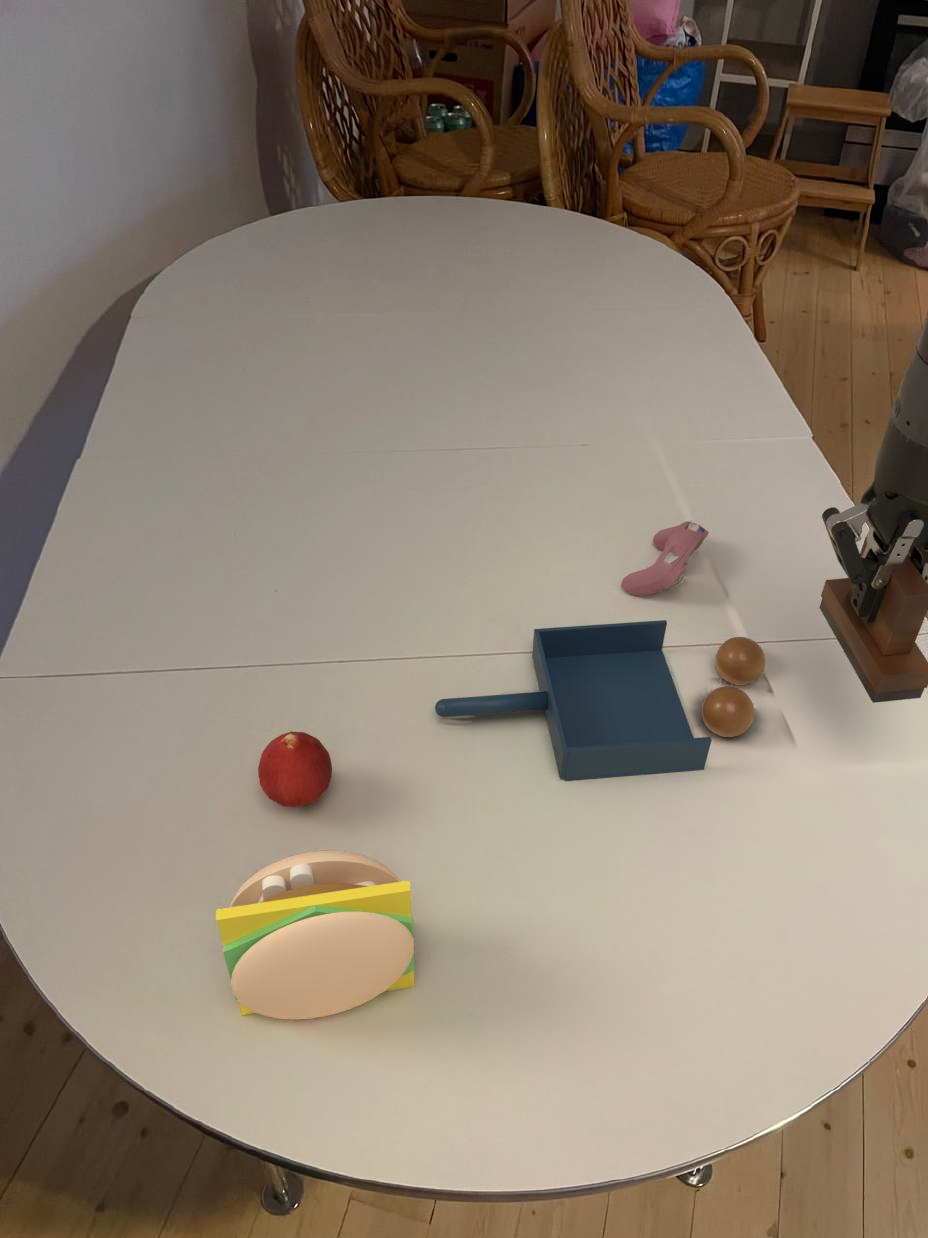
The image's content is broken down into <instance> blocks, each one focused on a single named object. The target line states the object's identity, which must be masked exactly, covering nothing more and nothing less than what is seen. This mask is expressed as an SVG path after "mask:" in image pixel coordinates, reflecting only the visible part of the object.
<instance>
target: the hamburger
mask: <svg viewBox="0 0 928 1238" xmlns="http://www.w3.org/2000/svg"><path fill="white" fill-rule="evenodd" d="M215 922H216V925H217V928H218V929H217V930H218V932H219V936H220V940H221V943H222V953H223V957H224V960H225V964H226V967H227V971H228V975H229V978H230V984H231V989H232V993H233V995H234V996H235V1000H236V1001H237V1003H238V1005H239V1009H240V1013H241V1016H247V1015H253V1014H258V1015H261V1016H265V1017H267V1018H273V1019H277V1020H278V1019H279V1020H296V1021H297V1020H310V1019H316V1018H323V1017H327V1016H333V1015H336V1014H339V1013H342V1012H345V1011H348V1010H351V1009H354V1008H357V1007H359V1006H361V1005H363V1004H365V1003H367V1002H369V1001H371V1000H372V999H375V998H376V997H377V996H379V995H381V994H382V993H385V992H390V991H395V990H397V991H398V990H402V989H407V988H415V985H416V984H415V969H416V967H415V940H414V922H413V913H412V889H411V884H410V880H409V879H408V880H402V881H400V879H399V877H398V876H397V875H396V874H395V873H394V872H393V871H392V870H391V868H389V867H388V866H386V865H385V864H383V863H381V862H380V861H379V860H376V859H374V858H372V857H369V856H366V855H364V854H359V853H355V852H351V851H343V850H317V851H316V850H315V851H308V852H303V853H298V854H295V855H291V856H288V857H285V858H281V859H279V860H277V861H274V862H272V863H270V864H269V865H267V866H265V867H264V868H262V869H260V870H258V871H257V872H255V873H254V874H253V875H251V876H250V877H249V878H248V879H247V880H246V881H245V882H244V883H243V884H242V885H241V887H240V888H239V889H237V891H236V893H235V894H234V897H233V898H232V900H231V902H230V904H229V907H224V908H217V909H215Z"/></svg>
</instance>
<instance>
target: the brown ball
mask: <svg viewBox="0 0 928 1238" xmlns="http://www.w3.org/2000/svg"><path fill="white" fill-rule="evenodd" d="M714 659H715V661H714V662H715V668H716V669H717V672H718V674H719V675H720V676H721V678H722V679H723V680H724V681H726V682H728V683H730V684H733V685H737V686H745V685H749V684H751V683H754V682H755V681H757V680H758V679H759V678H760V677H761V675H762V674H763V672H764V670H765V667H766V656H765V652H764V650H763V649H762V647H761V646H760V645H759V643H757V641H755V640H754V639H752V638H749V637H746V636H735V637H731V638H729V639H727V640H725V641H724V642H723V643H722V644H721V645H720V646H719V647H718V649H717V651H716V654H715V658H714Z"/></svg>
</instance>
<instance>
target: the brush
mask: <svg viewBox="0 0 928 1238" xmlns="http://www.w3.org/2000/svg"><path fill="white" fill-rule="evenodd" d="M866 537H867V535H865V537H864V541H863V543H862V546H861V550H860V551H859V553H860V556H861V557H862V555H863V553H864V551H865V549H866V546H867V540H866ZM855 586H856V585H855V584H852V583H851V581H850V580H849V578H848V577H844V578H833V579H825V582H824V585H823V588H822V591H821V595H820V597H821V601H820V604H819V607H818V608H819V610H820V612H821V613H822V615H823V617H824V619H825V621H826V623H827V624H828V627H829V628H830V629H831V631H832V634H834V636H835V639H836V640H837V642H838V644H839V646H840V647H841V649H842V651H843V652H844V654H845V656H846V658H847V660H848V662H849V663H850V666H851V667H852V669H853V670H854V672H855V674H856V676H857V677H858V680H859V681H860V683H861V684H862V687H863V688H864V690H865V692H866V693H867V695H868V697H869V699H870V701H871V703H873V704H875V703H884V702H885V703H886V702H894V701H903V700H913V699H915V700H916V699H920V698H922V695H923V693H924V690H925V689H927V688H928V660H927V658H926V656H925V655H924V653H923V652H922V650H921V648H920V647H919V646H918V644H917V642H916V640H917V638H918V636H919V633H920V630H921V629H922V625H923V624H924V621H925V618H926V616H927V613H928V584H927V582H926V581H925V579H924V578H923V577H922V575H921V574H920V572H919V571H918V569H917V568H916V567H915V565H914V564H913V562H912V561H911V559H910V558H909V556H908V554H907V555H906V557H905V559H904V561H903V563H902V565H901V566H896V567H895V569H894V571H893V573H892V575H891V577H890V579H889V582H888V583H887V585H886V586H885V587H886V591H885V594H884V597H883V599H882V602H881V605H880V608H879V610H878V613H877V616H876V619H875V621H874V622H872V623H864V622H863V621H862V619H861V618H860V617H859V616H858V615H857V613H856V611H855V610H854V608H853V606H852V604H851V598H852V595H853V592H854V589H855Z"/></svg>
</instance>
